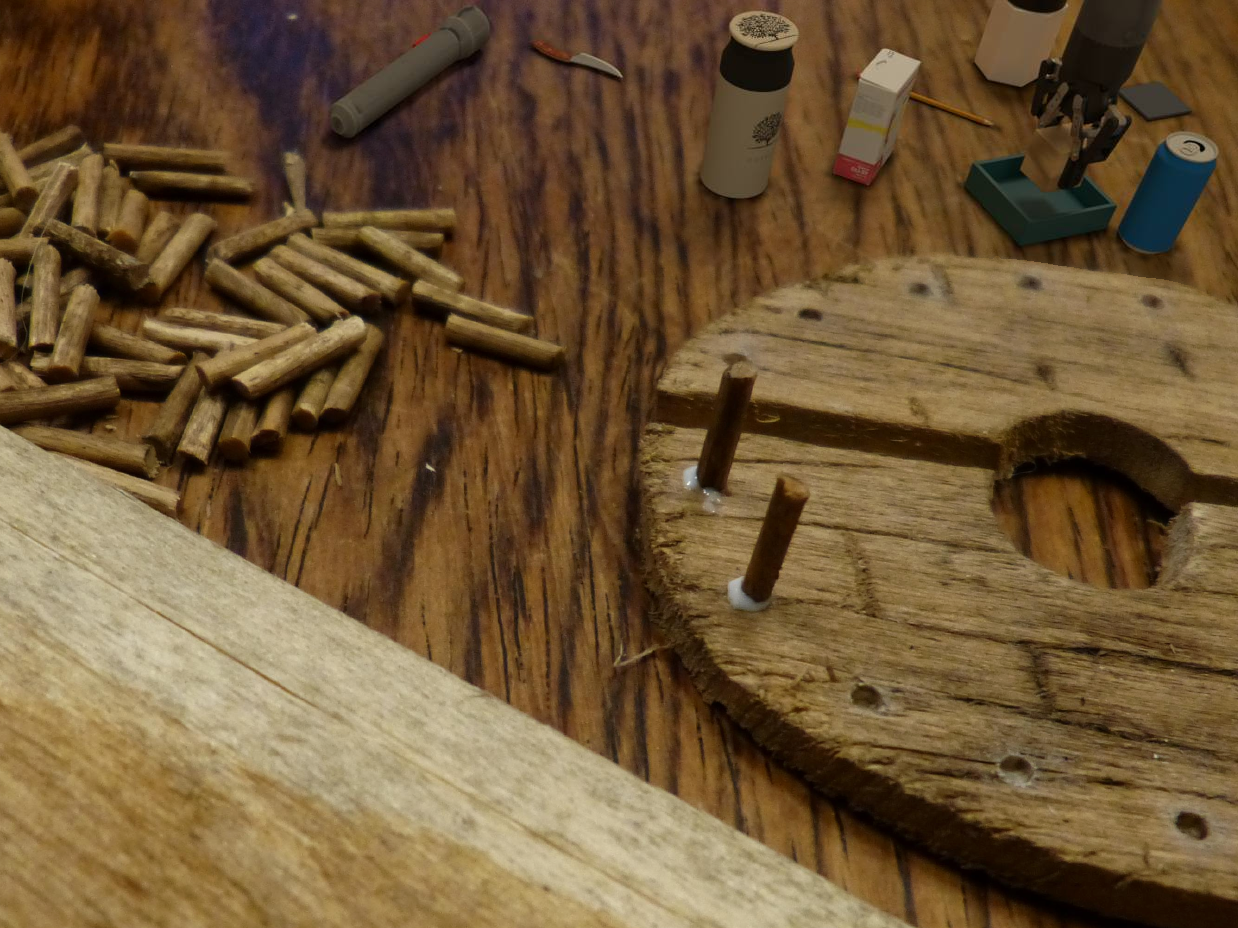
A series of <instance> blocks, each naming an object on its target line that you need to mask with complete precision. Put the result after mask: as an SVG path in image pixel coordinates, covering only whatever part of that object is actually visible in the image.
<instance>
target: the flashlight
mask: <svg viewBox="0 0 1238 928" xmlns="http://www.w3.org/2000/svg"><path fill="white" fill-rule="evenodd" d="M490 37H491V25H490V23H489V20H488V18H487V16H486V14H485V13H484V12H483V11H482V10H481V9H480V8H478V7H476V6H474V5H465V6H462V7H461V8H460V9H457V10H456V11H455V12H454V13H453V14H451V15H450V16H448V17H447V18H445V19H444V21H443V22H442V24H441V25H440V26H439V28H438V29H437V30H436V31H435V32H433V33H432V34H430V33H427V34H425V35H423V36H422V37H420V38H419V39H418V40H416V41H415V42H413V44H412V48H411V49H409V50H408V51H406V52H405V53H403V54H402V55H401V56H399V57H398V58H396V59H395V60H394V61H392V62H390V63H389V64H388V65H387V66H385V67H383V68H382V69H381V70H380V71H377V72H376V73H375V74H374V75H372V76H371V77H370V78H367V80H366V81H364V82H363V83H361V84H360V85H358V86H357V87H355V88H354V89H353V90H351V91H350V92H348V93H347V94H345V95H344V96H343V97H341V98H340V99H339V100H337V101H336V102H334V103H333V104H331V105H330V106H329V109H328V119H329V123H330V126H331V128H332V130H333V131H334V132H335V133H336V134H338V135H339V136H341V137H343V138H344V139H345V138H346V139H351V138H353V137H354V136H356V135H357V134H358V133H360V132H361V131H363V130H364V129H365V128H367V127H368V126H370V125H371V124H372V123H373V122H375V121H376V120H378V119H379V118H380V117H382V116H383V115H384V114H386V113H387V112H388V111H389V110H391V109H392V108H394V107H395V106H396V105H398V104H399V103H400V102H401V101H404V99H406V98H407V97H409V96H410V95H412V94H413V93H414V92H415V91H417V90H418V89H419V88H421V87H423V86H424V85H425V84H427V82H429V81H431V80H432V79H433V78H434V77H436V76H437V75H438V74H440V73H441V72H443V71H444V70H446V69H447V68H448V67H449V66H451V65H452V64H454V63H455V62H456V61H461V60H465V59H467V58H469V57H470V56H472V55H473V54H474V53H476V52H477V51H478V50H480V49H481V48H483V46H485V45H486V44H487V43H488V42H489V39H490Z"/></svg>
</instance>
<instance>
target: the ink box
mask: <svg viewBox="0 0 1238 928" xmlns="http://www.w3.org/2000/svg"><path fill="white" fill-rule="evenodd" d="M921 63H922V62H921V61H920V60H917V59H915V58H912V57H910V56H907V55H905V54H902V53H900V52H897V51H894V50H891V49H889V48H882V49H881V50H880V51H879V52H877V55H875V57H874V58H873V59H872V60H871V62H870V63H868V65H867V66H866V67H865V68H864V70H862V72H860V73H861V74H860V78H858V83H857V86H856V89H855V93H854V96H853V99H852V104H851V107H850V109H849V113H848V117H847V121H846V124H845V128H844V131H843V133H842V138H841V141H840V144H839V149H838V152H837V155H836V159H835V162H834V166H833V170H832V174H834V175H837V176H840V177H843V178H844V179H849V180H852V181H854V182H857V183H860V184H862V185H865V186H870V185H871V183H872V182H873V180H874V179H875V178H876V176H877V174H879V172H880V171H881V168H882V167H883V166H884V165H885V163H886V161H887V160H888V158H889V157H890V156H891V154H892V152H893V149H894V146H895V143H896V139H897V137H898V134H899V130H900V127H901V124H902V120H903V117H904V114H905V111H906V108H907V105H908V101H909V98H910V97H909V96H910V93H911V92H912V89H913V86H914V84H915V80H916V77H917V75H918V71H919V69H920V68H919V67H920V66H921Z"/></svg>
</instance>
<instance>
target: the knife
mask: <svg viewBox="0 0 1238 928" xmlns="http://www.w3.org/2000/svg"><path fill="white" fill-rule="evenodd" d="M532 46H533V48H535V50H537V51H538V52H539V53H542V54H543V55H544V56H547V57H550V58H551V59H555V60H557V61H560V62H563V63H567V64H568V63H569V64H570V63H573V64H574V63H575V64H578V65H583V66H586V67H589V68H594V69H596V70H599V71H603V72H605V73H608V74H611V75H613V76H615V77H618V78H621V79H624V78H623V75H622V74H621V72H620V71H619V69H617V68H616V67H615V66H613V65H612V64H610V63H609V62H606V61H604V60H603V59H600V58H598V57H596V56H593V55H591V54H588V53H585V52H580V53H579V54H576V55H573V54H572V53H568V52H565V51H562V50H559V49H557V48H554V47H553V46H551V45H550V44H549V43H547V42H546V41H545V40H543V39H538V40H534V41H532Z"/></svg>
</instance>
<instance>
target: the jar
mask: <svg viewBox="0 0 1238 928" xmlns="http://www.w3.org/2000/svg"><path fill="white" fill-rule="evenodd" d="M1068 9H1069V4H1068V0H994V1H993V5H992V8H991V11H990V13H989V17H988V18H987V22H986V25H985V28H984V29H983V33H982V37H981V40H980V42H979V45H978V48H977V51H976V53H975V57H974V58H973V59H974V60H973V62H974V63H975V65H976V66H977V68H978V69H979V70H980V72H981V73H982V74H983V76H984V77H985V78H986V80H988V81H992V82H996V83H1000V84H1005V85H1010V86H1014V87H1018V88H1022V87H1024V86H1026V85H1028V84H1029V83H1031V82H1033V81H1035V80H1037V79H1038V74H1039V69H1040V65H1041V62H1042V61H1043V60H1047V59H1049V57H1050V55H1051V52H1052V49H1053V48H1054V45H1055V43H1056V40H1057V37H1058V34H1059V32H1060V30H1061V26H1062V25H1063V22H1064V19H1065V17H1066V14H1067V11H1068Z"/></svg>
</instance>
